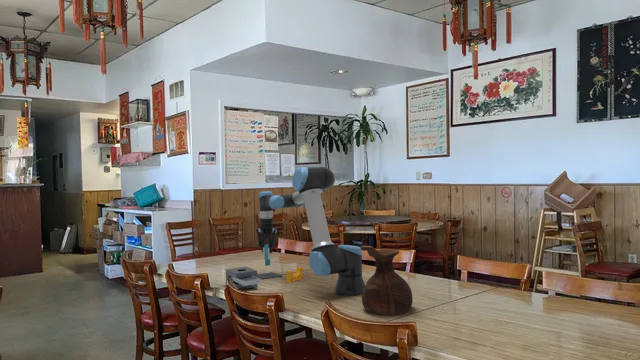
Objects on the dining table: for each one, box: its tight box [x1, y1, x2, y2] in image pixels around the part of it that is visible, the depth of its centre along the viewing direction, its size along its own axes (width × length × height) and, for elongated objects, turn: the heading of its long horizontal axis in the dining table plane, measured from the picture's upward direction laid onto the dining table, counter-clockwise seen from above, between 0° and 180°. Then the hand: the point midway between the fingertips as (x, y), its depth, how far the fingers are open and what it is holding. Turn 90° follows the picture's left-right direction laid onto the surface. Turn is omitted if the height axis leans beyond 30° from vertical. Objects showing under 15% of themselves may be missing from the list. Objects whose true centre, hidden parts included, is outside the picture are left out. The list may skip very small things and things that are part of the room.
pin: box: [264, 243, 271, 267], centre depth 283 cm, size 3×3×12 cm
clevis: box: [225, 266, 261, 290], centre depth 258 cm, size 20×12×8 cm, turn 33°
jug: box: [359, 245, 413, 316], centre depth 206 cm, size 22×22×30 cm
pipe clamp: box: [285, 266, 304, 284], centre depth 272 cm, size 12×4×6 cm, turn 147°
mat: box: [255, 271, 282, 280], centre depth 284 cm, size 12×12×1 cm
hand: (267, 258), depth 284 cm, fingers closed on pin, 2 cm apart
